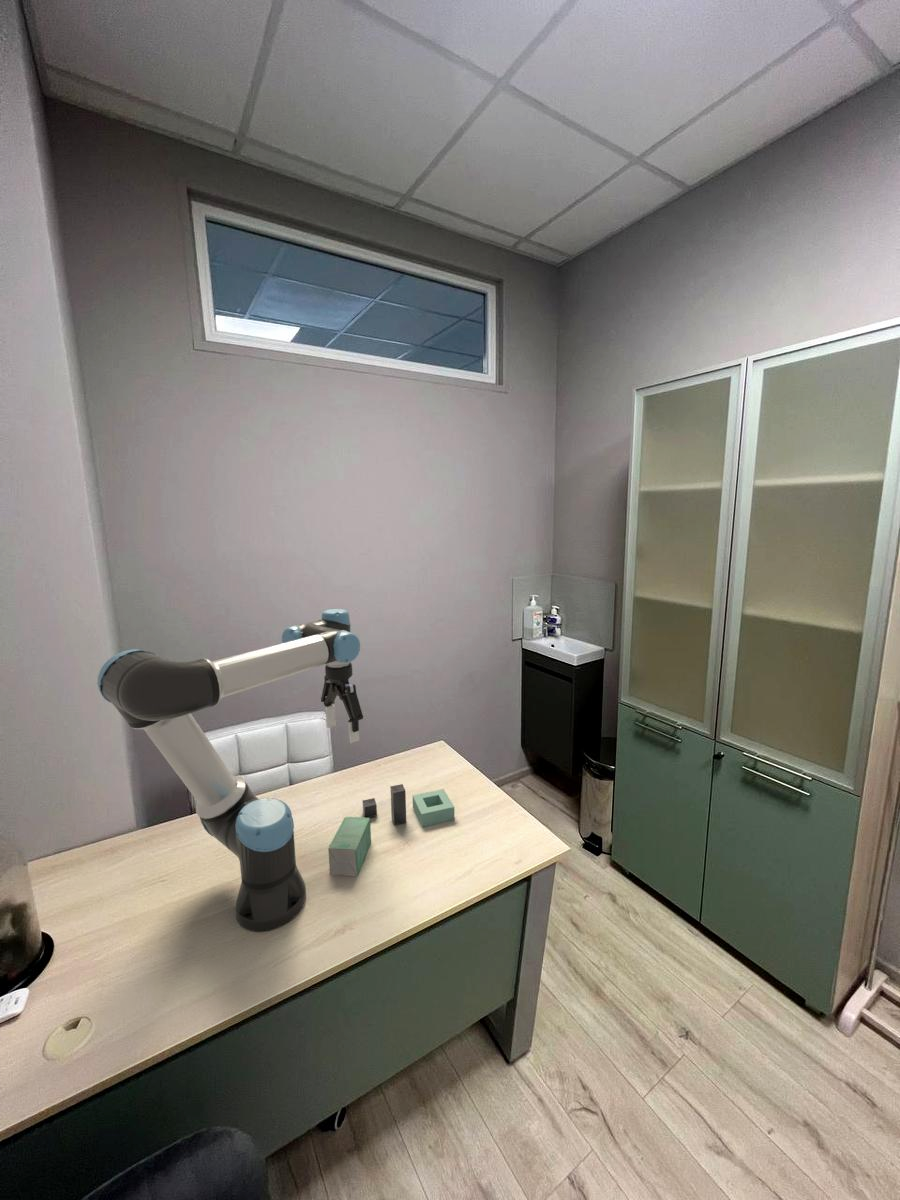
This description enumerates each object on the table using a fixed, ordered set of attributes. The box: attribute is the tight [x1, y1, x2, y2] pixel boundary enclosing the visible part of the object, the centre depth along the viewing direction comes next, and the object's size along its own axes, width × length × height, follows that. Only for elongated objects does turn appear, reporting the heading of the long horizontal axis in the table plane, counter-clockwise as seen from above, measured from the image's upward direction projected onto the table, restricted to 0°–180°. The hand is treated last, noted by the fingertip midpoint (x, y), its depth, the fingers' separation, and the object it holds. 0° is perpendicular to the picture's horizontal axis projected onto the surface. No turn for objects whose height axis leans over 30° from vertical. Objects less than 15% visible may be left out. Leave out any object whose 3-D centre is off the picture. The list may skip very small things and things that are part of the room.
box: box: [327, 816, 372, 877], centre depth 124 cm, size 7×14×8 cm, turn 175°
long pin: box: [390, 783, 407, 826], centre depth 138 cm, size 4×4×10 cm
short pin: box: [361, 797, 378, 819], centre depth 142 cm, size 4×4×4 cm
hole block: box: [412, 788, 456, 827], centre depth 142 cm, size 10×10×4 cm
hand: (342, 733), depth 138 cm, fingers open, 13 cm apart
